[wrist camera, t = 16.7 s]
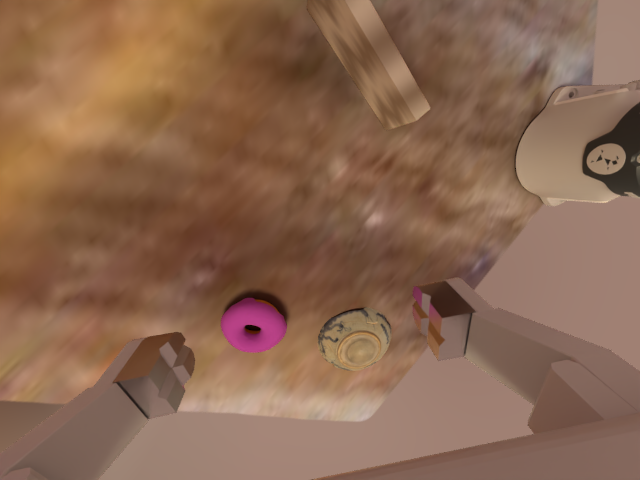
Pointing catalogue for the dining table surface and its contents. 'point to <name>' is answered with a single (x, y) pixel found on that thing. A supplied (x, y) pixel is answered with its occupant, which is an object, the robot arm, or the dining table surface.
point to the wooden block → (370, 59)
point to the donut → (256, 315)
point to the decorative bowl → (355, 339)
